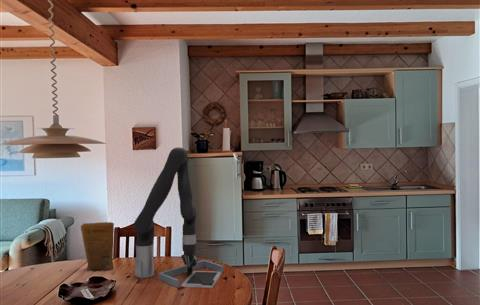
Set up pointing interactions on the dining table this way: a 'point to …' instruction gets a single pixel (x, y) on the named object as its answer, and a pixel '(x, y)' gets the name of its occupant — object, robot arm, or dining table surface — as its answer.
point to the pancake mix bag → (98, 245)
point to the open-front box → (168, 278)
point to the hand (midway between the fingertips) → (190, 273)
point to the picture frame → (202, 279)
